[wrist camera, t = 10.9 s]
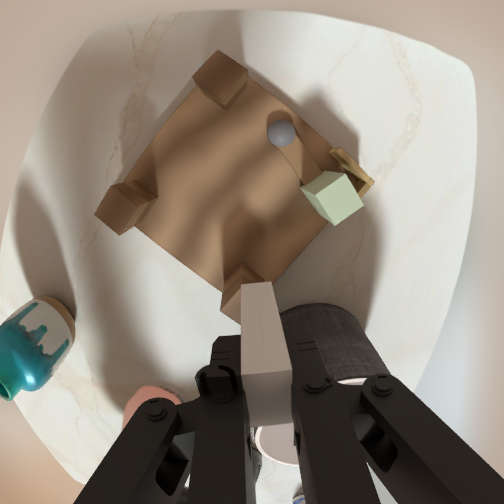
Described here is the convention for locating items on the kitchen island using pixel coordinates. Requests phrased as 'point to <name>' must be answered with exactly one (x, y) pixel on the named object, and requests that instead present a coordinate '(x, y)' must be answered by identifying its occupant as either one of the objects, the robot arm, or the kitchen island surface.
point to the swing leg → (315, 176)
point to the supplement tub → (299, 499)
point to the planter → (335, 361)
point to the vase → (34, 345)
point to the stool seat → (226, 185)
